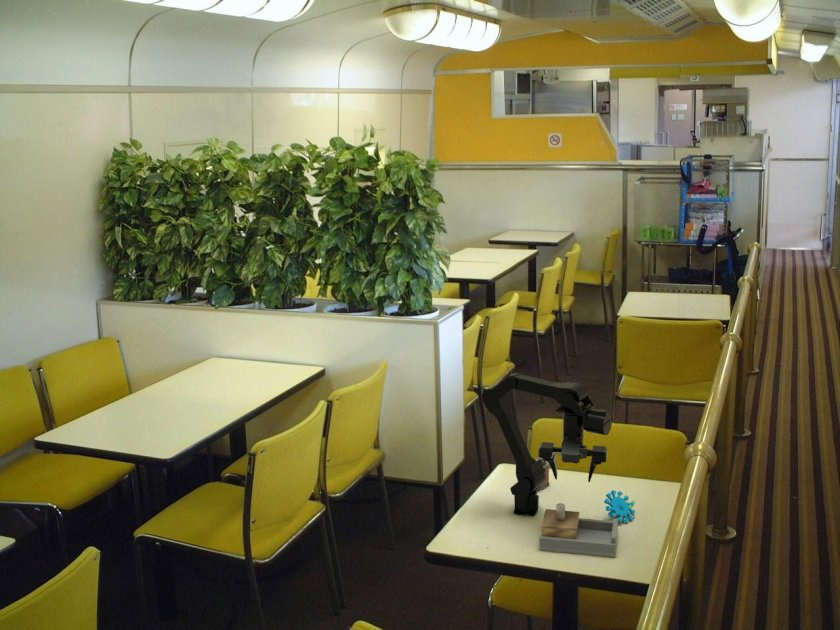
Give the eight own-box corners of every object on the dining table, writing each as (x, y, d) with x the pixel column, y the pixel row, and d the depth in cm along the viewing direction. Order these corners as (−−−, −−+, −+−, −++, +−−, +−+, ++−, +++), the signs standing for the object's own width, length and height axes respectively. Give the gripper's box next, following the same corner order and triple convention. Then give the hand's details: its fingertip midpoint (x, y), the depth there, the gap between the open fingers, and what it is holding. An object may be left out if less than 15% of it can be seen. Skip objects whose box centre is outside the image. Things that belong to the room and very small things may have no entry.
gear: (615, 523, 257) (601, 490, 262) (603, 531, 261) (590, 499, 266) (644, 519, 263) (630, 487, 268) (632, 527, 267) (618, 495, 272)
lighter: (543, 482, 290) (543, 452, 287) (551, 485, 287) (552, 455, 285) (527, 490, 284) (527, 460, 282) (535, 493, 282) (536, 463, 279)
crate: (540, 542, 248) (541, 511, 246) (545, 525, 258) (545, 495, 256) (575, 545, 246) (576, 514, 244) (579, 528, 256) (579, 498, 253)
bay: (539, 549, 247) (539, 532, 246) (545, 526, 260) (545, 510, 259) (615, 557, 242) (615, 539, 241) (617, 533, 255) (618, 516, 254)
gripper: (536, 436, 250) (535, 489, 254) (605, 441, 245) (604, 494, 249) (541, 422, 261) (540, 473, 264) (607, 426, 256) (606, 478, 260)
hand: (572, 480), depth 259 cm, fingers open, 9 cm apart
